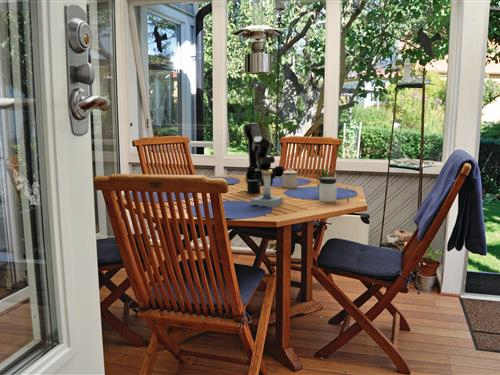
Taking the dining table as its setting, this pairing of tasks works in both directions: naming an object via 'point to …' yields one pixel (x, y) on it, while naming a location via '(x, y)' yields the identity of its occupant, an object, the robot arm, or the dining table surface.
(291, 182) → the teacup with lid
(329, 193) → the jar
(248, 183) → the robot arm
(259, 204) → the socket block
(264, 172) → the pin
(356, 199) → the dining table surface
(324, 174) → the house plant
